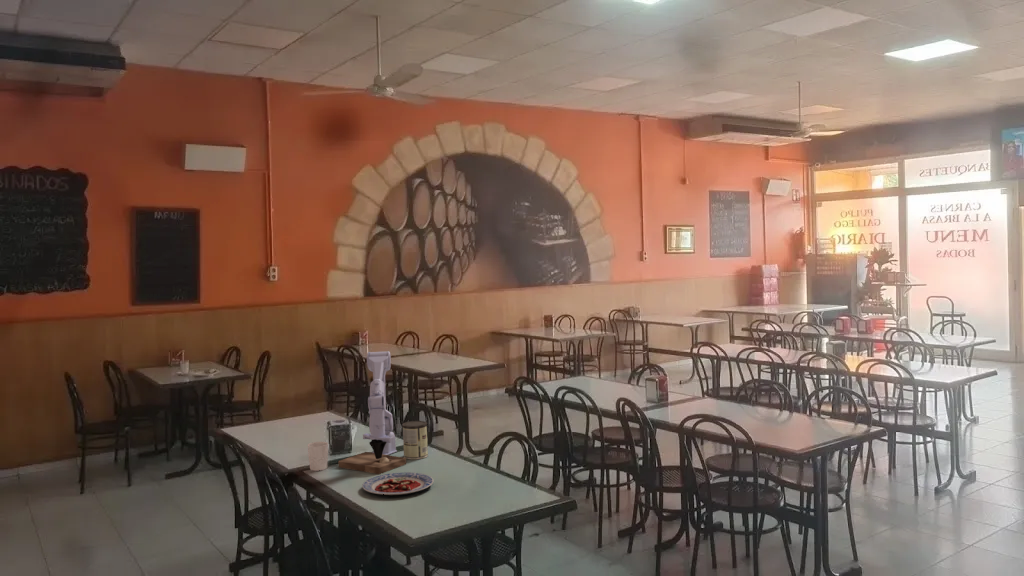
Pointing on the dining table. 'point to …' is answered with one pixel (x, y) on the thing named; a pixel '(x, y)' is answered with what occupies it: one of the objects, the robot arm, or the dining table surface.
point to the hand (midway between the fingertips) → (378, 458)
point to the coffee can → (415, 440)
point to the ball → (384, 460)
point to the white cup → (318, 455)
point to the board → (371, 463)
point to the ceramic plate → (398, 483)
